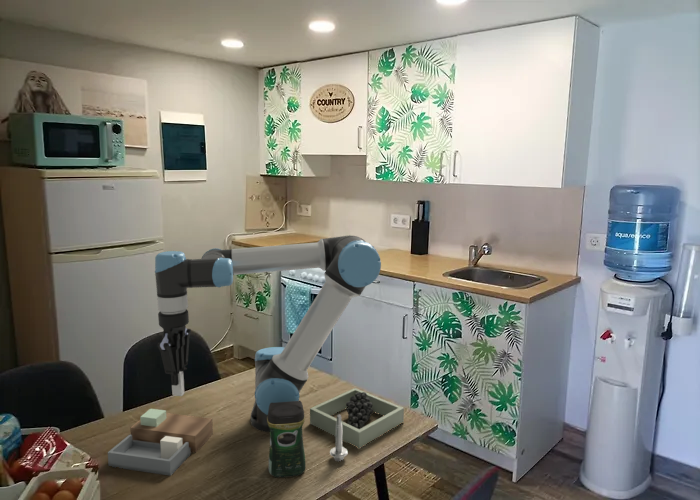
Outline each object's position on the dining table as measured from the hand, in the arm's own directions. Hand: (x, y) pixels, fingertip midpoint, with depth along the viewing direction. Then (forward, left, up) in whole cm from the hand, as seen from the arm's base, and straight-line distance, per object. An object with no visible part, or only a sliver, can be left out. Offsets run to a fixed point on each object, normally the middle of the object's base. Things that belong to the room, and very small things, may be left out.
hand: (178, 394), depth 139 cm
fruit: (-44, -26, -17) cm, 54 cm away
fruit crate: (-44, -26, -17) cm, 54 cm away
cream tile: (0, +3, -14) cm, 14 cm away
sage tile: (+11, -5, -12) cm, 17 cm away
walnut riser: (+6, -5, -17) cm, 19 cm away
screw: (-43, -6, -17) cm, 47 cm away
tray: (+6, +6, -17) cm, 19 cm away
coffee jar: (-31, +2, -17) cm, 36 cm away
